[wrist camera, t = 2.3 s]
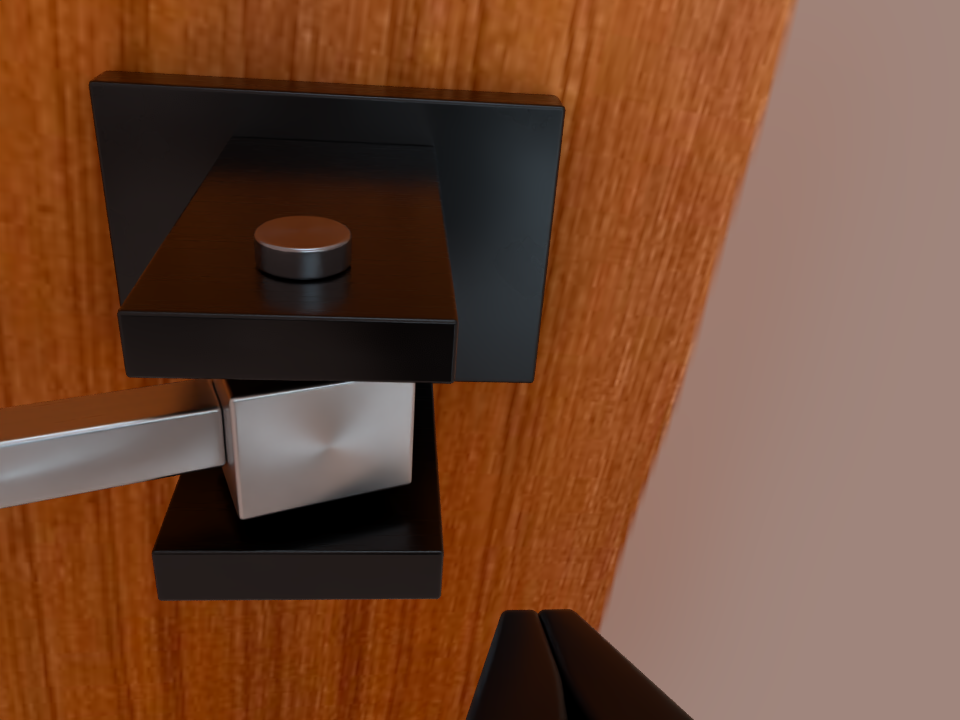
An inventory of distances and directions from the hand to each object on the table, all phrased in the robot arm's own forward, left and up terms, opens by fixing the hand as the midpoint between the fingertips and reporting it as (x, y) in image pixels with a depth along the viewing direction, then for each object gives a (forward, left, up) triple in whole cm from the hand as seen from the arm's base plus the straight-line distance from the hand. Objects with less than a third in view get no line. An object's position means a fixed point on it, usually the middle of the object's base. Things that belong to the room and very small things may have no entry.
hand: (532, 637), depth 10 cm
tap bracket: (+3, 0, -13) cm, 13 cm away
